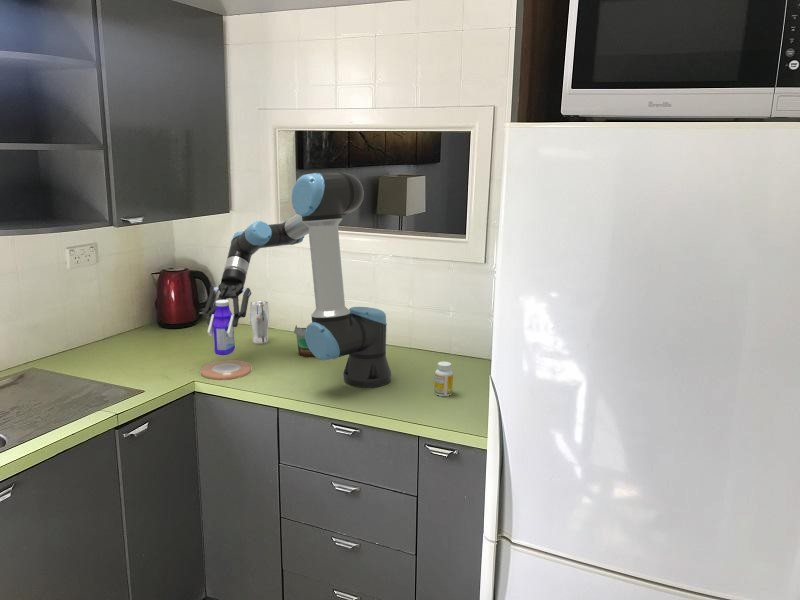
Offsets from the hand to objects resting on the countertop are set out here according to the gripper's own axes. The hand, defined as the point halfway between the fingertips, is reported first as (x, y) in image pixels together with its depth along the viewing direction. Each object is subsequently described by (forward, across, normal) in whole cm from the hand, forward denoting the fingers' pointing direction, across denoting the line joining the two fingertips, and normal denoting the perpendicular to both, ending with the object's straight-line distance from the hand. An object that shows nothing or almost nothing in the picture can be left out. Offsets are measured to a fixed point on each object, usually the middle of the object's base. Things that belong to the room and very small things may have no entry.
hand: (219, 334), depth 207 cm
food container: (-6, -23, -26) cm, 35 cm away
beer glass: (-16, -2, -35) cm, 38 cm away
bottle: (+3, 0, -8) cm, 8 cm away
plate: (+7, 0, -12) cm, 14 cm away
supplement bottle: (+14, -71, -5) cm, 73 cm away
